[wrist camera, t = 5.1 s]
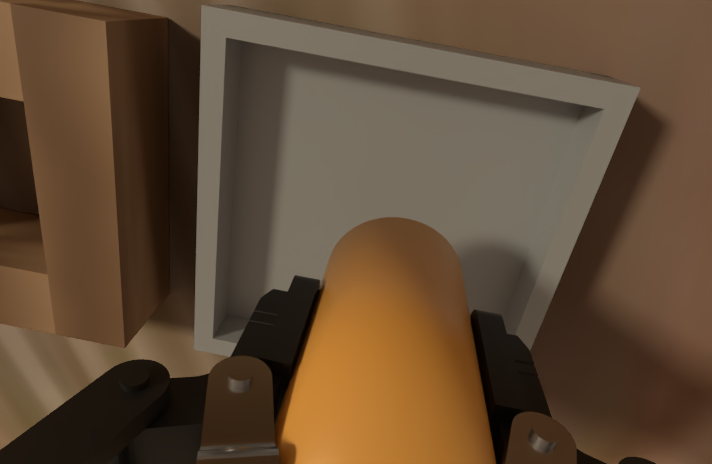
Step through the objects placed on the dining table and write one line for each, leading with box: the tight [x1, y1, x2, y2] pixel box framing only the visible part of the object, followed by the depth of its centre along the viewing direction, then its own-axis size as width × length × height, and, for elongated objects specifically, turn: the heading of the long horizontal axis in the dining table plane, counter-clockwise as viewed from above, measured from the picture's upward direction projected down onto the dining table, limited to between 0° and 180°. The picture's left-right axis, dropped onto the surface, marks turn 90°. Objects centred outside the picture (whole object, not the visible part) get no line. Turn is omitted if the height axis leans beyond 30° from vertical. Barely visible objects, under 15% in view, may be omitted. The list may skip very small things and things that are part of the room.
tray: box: [194, 5, 640, 357], centre depth 19 cm, size 14×14×2 cm
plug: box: [274, 217, 496, 464], centre depth 11 cm, size 4×4×10 cm
